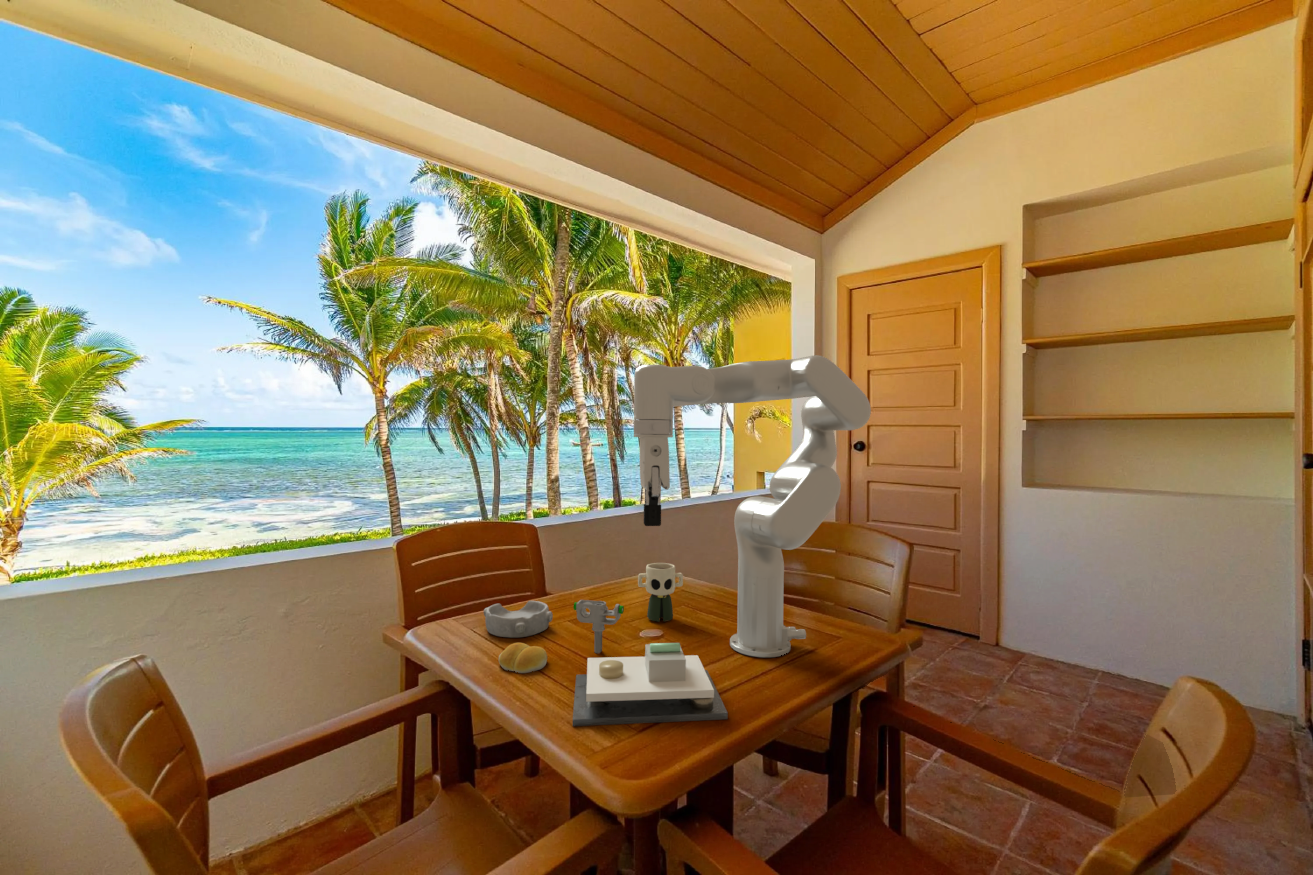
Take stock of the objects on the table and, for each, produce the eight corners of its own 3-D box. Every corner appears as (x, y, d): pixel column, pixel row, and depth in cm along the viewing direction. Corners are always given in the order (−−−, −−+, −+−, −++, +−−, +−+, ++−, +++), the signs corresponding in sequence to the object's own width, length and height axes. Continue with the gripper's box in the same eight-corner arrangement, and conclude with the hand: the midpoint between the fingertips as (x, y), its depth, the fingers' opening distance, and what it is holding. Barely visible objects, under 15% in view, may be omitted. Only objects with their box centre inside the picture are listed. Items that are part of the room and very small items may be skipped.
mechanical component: (620, 656, 111) (620, 606, 111) (571, 652, 113) (572, 603, 113) (624, 651, 114) (624, 602, 114) (576, 646, 116) (577, 599, 116)
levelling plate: (697, 661, 101) (698, 628, 101) (713, 697, 87) (714, 658, 87) (587, 664, 99) (588, 630, 99) (586, 701, 85) (587, 661, 85)
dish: (475, 627, 127) (476, 606, 127) (530, 615, 136) (530, 595, 136) (503, 646, 116) (503, 622, 116) (561, 631, 125) (561, 609, 125)
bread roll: (532, 677, 101) (532, 655, 101) (491, 669, 104) (492, 648, 104) (556, 660, 109) (556, 640, 109) (517, 654, 112) (518, 634, 112)
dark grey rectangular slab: (707, 675, 102) (707, 660, 102) (727, 719, 87) (727, 701, 87) (576, 680, 100) (576, 664, 100) (572, 726, 84) (572, 707, 84)
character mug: (638, 625, 130) (639, 569, 130) (636, 615, 137) (637, 562, 137) (684, 624, 131) (685, 569, 131) (680, 614, 138) (680, 562, 138)
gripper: (678, 429, 99) (677, 531, 99) (667, 430, 114) (666, 519, 114) (636, 429, 99) (635, 532, 99) (631, 430, 113) (630, 519, 113)
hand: (652, 525), depth 106 cm, fingers closed
